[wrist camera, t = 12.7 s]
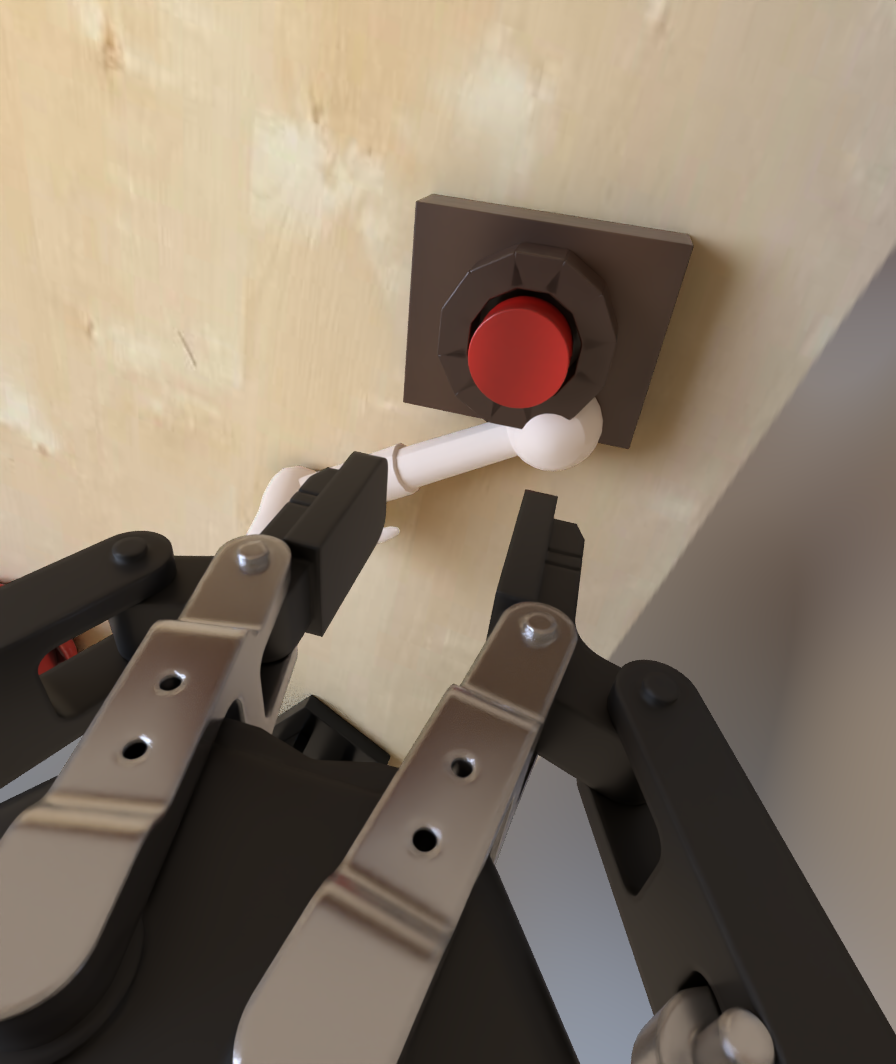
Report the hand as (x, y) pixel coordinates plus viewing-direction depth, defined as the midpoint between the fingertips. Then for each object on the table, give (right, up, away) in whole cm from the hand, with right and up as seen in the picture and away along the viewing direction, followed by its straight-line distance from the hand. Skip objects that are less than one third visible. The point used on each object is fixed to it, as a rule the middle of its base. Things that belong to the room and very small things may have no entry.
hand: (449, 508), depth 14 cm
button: (+3, +6, +9) cm, 12 cm away
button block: (+4, +9, +12) cm, 15 cm away
